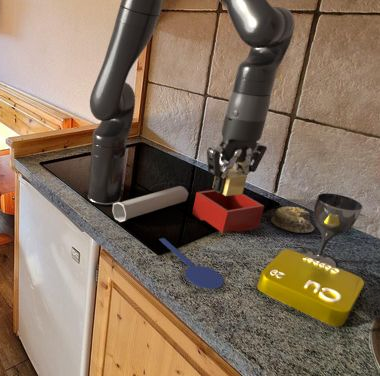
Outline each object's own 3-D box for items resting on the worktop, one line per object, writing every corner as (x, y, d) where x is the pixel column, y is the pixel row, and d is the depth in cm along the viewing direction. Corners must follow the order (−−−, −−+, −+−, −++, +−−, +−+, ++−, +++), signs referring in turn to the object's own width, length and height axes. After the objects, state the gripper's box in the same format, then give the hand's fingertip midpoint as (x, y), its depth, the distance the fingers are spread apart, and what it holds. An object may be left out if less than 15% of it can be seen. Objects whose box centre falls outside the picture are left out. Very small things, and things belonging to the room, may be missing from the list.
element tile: (359, 295, 81) (368, 276, 79) (338, 333, 72) (348, 312, 70) (279, 262, 91) (285, 244, 89) (252, 291, 81) (258, 272, 79)
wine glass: (303, 246, 97) (323, 190, 91) (342, 260, 92) (366, 202, 86) (292, 259, 92) (313, 200, 86) (333, 275, 87) (357, 214, 81)
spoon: (147, 243, 96) (147, 240, 96) (174, 238, 99) (174, 235, 98) (200, 295, 80) (201, 291, 80) (231, 287, 82) (231, 284, 82)
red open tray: (192, 213, 110) (196, 192, 108) (226, 208, 114) (231, 187, 111) (221, 235, 101) (227, 212, 98) (258, 228, 104) (264, 205, 101)
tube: (176, 183, 119) (111, 201, 107) (191, 184, 114) (124, 203, 102) (178, 201, 120) (113, 220, 108) (192, 202, 115) (127, 223, 103)
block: (212, 187, 90) (216, 169, 88) (228, 185, 92) (232, 167, 90) (225, 196, 87) (230, 177, 85) (242, 193, 88) (247, 175, 86)
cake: (269, 230, 105) (273, 211, 103) (271, 214, 113) (274, 196, 111) (315, 237, 100) (319, 218, 98) (313, 221, 108) (317, 202, 106)
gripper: (259, 108, 87) (240, 180, 94) (204, 111, 83) (189, 187, 90) (288, 117, 81) (265, 194, 88) (230, 121, 76) (211, 202, 84)
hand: (227, 190), depth 89 cm, fingers closed on block, 4 cm apart
